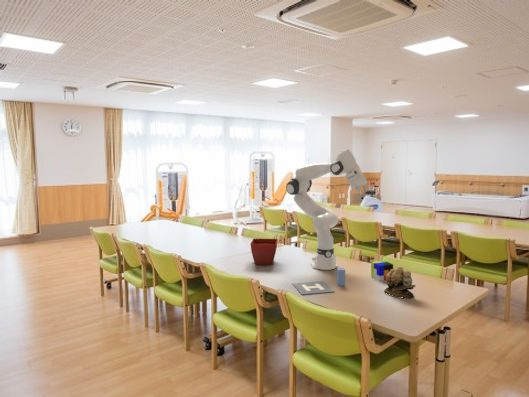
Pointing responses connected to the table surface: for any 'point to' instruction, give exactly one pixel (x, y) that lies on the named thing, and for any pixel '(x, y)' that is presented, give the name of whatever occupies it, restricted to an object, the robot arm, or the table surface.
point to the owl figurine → (399, 283)
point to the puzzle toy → (380, 269)
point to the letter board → (312, 288)
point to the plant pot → (263, 251)
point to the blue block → (340, 276)
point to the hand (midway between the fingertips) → (363, 192)
